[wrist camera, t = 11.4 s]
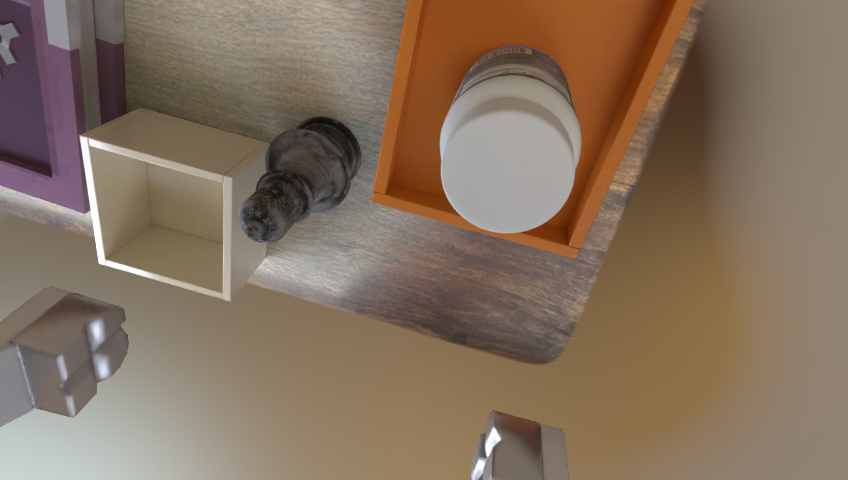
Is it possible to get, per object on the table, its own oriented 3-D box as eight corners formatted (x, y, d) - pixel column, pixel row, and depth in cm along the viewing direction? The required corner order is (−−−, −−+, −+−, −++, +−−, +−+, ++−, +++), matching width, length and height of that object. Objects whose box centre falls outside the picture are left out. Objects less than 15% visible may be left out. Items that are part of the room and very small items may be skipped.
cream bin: (273, 143, 38) (232, 177, 32) (266, 257, 43) (230, 301, 38) (140, 107, 38) (78, 134, 33) (149, 224, 43) (98, 263, 38)
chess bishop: (380, 144, 36) (320, 227, 26) (342, 204, 39) (276, 300, 29) (306, 95, 35) (215, 162, 25) (274, 161, 38) (181, 244, 28)
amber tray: (687, -24, 20) (703, -20, 18) (573, 237, 26) (576, 259, 24) (433, -90, 20) (424, -92, 18) (381, 184, 26) (370, 202, 25)
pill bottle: (537, 167, 24) (540, 268, 17) (443, 126, 24) (405, 210, 17) (591, 70, 21) (622, 139, 14) (486, 23, 21) (464, 69, 14)
